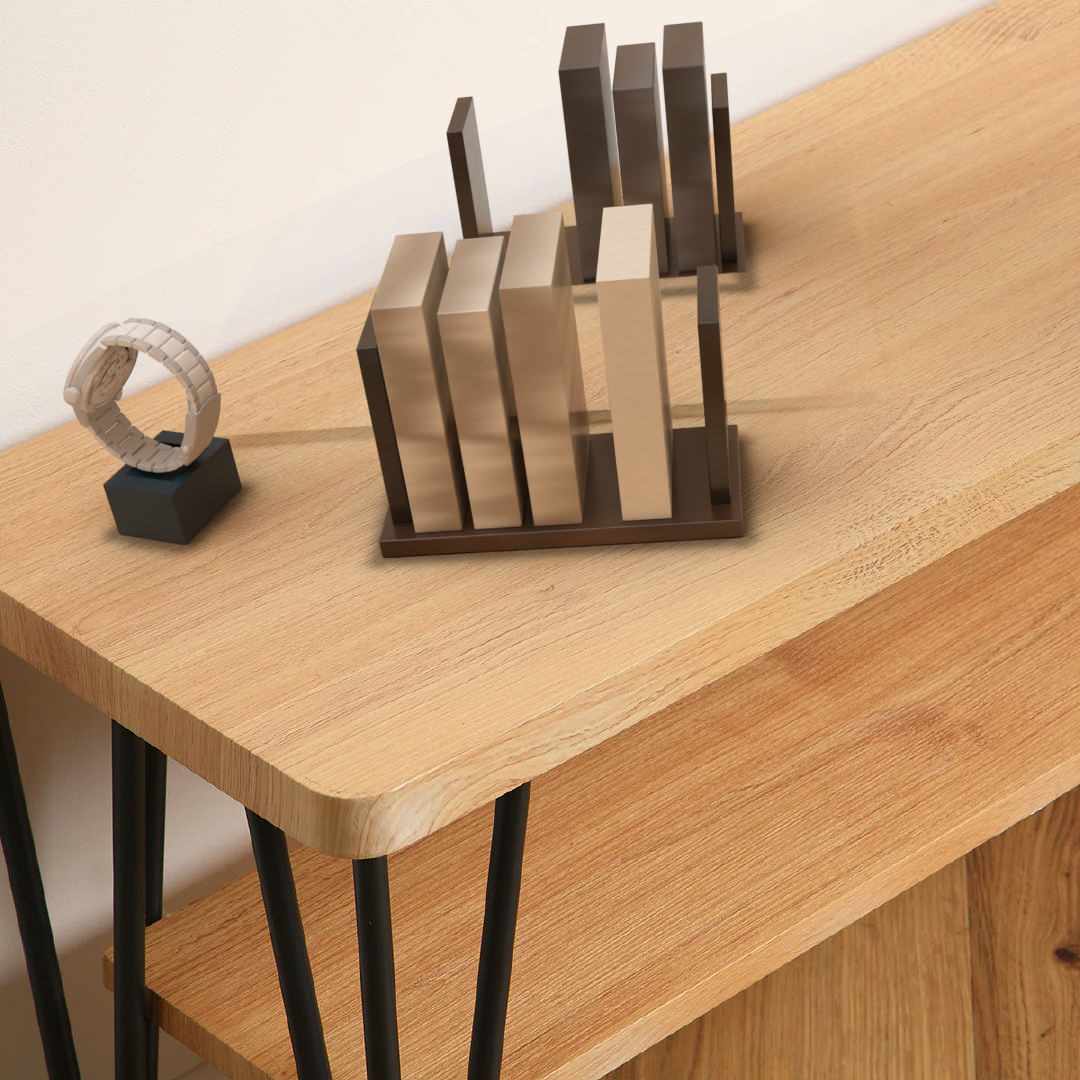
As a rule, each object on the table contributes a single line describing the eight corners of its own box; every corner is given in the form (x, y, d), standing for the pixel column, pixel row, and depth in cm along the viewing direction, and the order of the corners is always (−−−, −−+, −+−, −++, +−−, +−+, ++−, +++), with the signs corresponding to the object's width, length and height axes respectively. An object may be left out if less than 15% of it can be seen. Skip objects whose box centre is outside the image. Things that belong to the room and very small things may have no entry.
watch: (148, 473, 91) (93, 297, 85) (269, 491, 88) (221, 309, 82) (88, 529, 87) (26, 348, 81) (213, 550, 84) (158, 363, 77)
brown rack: (738, 439, 86) (723, 193, 78) (743, 537, 79) (727, 275, 71) (406, 461, 89) (359, 224, 81) (381, 557, 81) (327, 307, 73)
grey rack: (743, 225, 108) (731, 7, 100) (747, 285, 101) (734, 56, 93) (477, 247, 110) (443, 35, 102) (462, 307, 103) (425, 85, 95)
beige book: (672, 432, 86) (652, 203, 78) (671, 518, 79) (649, 277, 72) (627, 435, 86) (603, 207, 79) (622, 521, 80) (595, 281, 72)
